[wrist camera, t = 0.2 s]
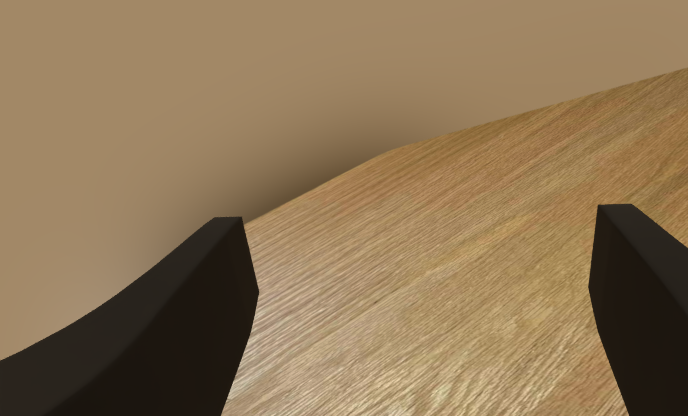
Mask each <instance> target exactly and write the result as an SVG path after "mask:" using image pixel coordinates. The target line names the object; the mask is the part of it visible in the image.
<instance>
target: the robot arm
mask: <svg viewBox="0 0 688 416" xmlns="http://www.w3.org/2000/svg"><path fill="white" fill-rule="evenodd" d="M588 288H589V293H590V298H591V303H592V307H593V312H594V316H595V321H596V325H597V329H598V333H599V336H600V338H601V341H602V344H603V347H604V349H605V352H606V355H607V358H608V360H609V363H610V366H611V368H612V371H613V374H614V376H615V379H616V382H617V384H618V387H619V390H620V392H621V395H622V398H623V400H624V403H625V405H626V408H627V411H628V413H629V416H688V248H687V247H686V246H684V245H683V244H682V243H681V242H679V241H678V240H677V239H675V238H674V237H673V236H672V235H670V234H669V233H668V232H667V231H665V230H664V229H663V228H662V227H660V226H659V225H658V224H657V223H655V222H654V221H653V220H652V219H650V218H649V217H648V216H647V215H645V214H644V213H643V212H642V211H640V210H639V209H638V208H636V207H635V206H634V205H632V204H608V205H598V209H597V217H596V226H595V234H594V243H593V251H592V260H591V269H590V277H589V286H588ZM258 295H259V289H258V285H257V280H256V276H255V272H254V268H253V263H252V259H251V255H250V251H249V246H248V242H247V238H246V233H245V229H244V225H243V221H242V217H215V218H213V219H212V220H210V221H209V222H207V223H206V224H205V225H203V226H202V227H201V228H200V229H198V230H197V231H196V232H195V233H194V234H192V235H191V236H190V237H189V238H188V239H186V240H185V241H184V242H183V243H182V244H180V245H179V246H178V247H177V248H176V249H174V250H173V251H172V252H171V253H170V254H169V255H167V256H166V257H165V258H163V259H162V260H161V261H160V262H159V263H157V264H156V265H155V266H154V267H152V268H151V269H150V270H149V271H147V272H146V273H145V274H143V275H142V276H141V277H139V278H138V279H137V280H135V281H134V282H133V283H131V284H130V285H129V286H127V287H126V288H125V289H124V290H122V291H121V292H119V293H118V294H117V295H115V296H114V297H112V298H111V299H110V300H108V301H107V302H105V303H104V304H102V305H101V306H99V307H98V308H96V309H95V310H93V311H92V312H90V313H88V314H87V315H85V316H83V317H82V318H80V319H78V320H77V321H76V322H74V323H72V324H70V325H69V326H67V327H65V328H63V329H61V330H60V331H58V332H56V333H54V334H52V335H50V336H49V337H46V338H45V339H43V340H41V341H39V342H37V343H35V344H33V345H31V346H30V347H28V348H26V349H24V350H22V351H20V352H18V353H16V354H14V355H12V356H9V357H7V358H5V359H3V360H1V361H0V416H221V414H222V411H223V408H224V405H225V403H226V400H227V397H228V394H229V392H230V389H231V386H232V384H233V381H234V378H235V375H236V373H237V370H238V367H239V364H240V362H241V359H242V356H243V353H244V350H245V348H246V345H247V342H248V339H249V336H250V333H251V329H252V325H253V320H254V316H255V311H256V306H257V300H258Z"/></svg>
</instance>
